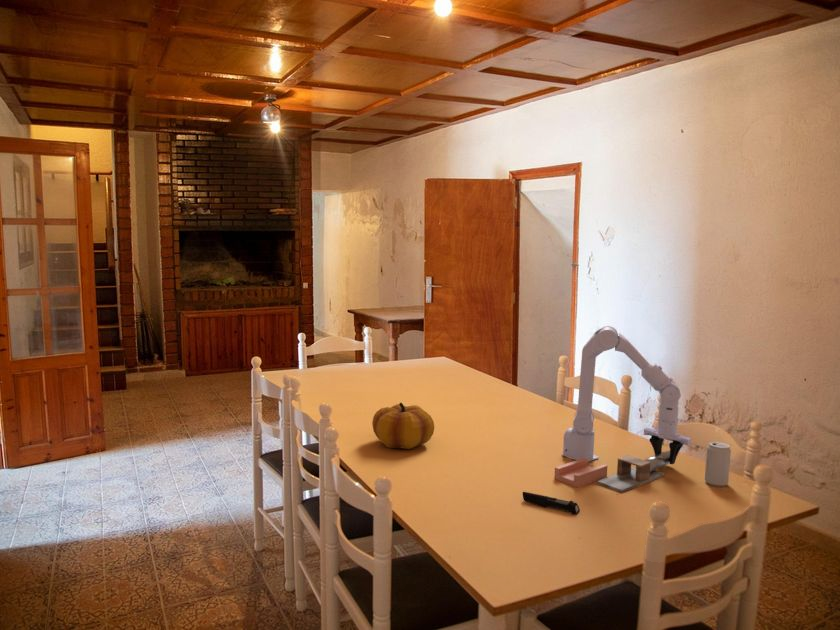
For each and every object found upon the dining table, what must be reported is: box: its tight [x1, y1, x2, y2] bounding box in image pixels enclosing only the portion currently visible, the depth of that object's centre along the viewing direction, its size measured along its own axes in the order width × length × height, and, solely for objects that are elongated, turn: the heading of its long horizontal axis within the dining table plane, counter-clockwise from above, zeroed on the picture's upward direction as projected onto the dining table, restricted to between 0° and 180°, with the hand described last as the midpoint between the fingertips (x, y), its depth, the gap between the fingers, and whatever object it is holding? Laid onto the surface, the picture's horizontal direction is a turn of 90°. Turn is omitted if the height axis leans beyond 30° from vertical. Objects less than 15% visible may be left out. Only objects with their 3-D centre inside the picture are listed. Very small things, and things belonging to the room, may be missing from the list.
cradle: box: [553, 458, 608, 488], centre depth 194 cm, size 9×14×4 cm, turn 129°
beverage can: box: [704, 441, 732, 487], centre depth 191 cm, size 6×6×12 cm
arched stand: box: [596, 454, 665, 494], centre depth 193 cm, size 8×22×6 cm, turn 129°
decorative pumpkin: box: [371, 402, 435, 450], centre depth 223 cm, size 20×22×15 cm
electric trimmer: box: [522, 491, 581, 516], centre depth 173 cm, size 4×16×3 cm, turn 60°
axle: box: [644, 450, 671, 472], centre depth 201 cm, size 16×4×4 cm, turn 132°
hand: (665, 461), depth 205 cm, fingers closed on axle, 4 cm apart
